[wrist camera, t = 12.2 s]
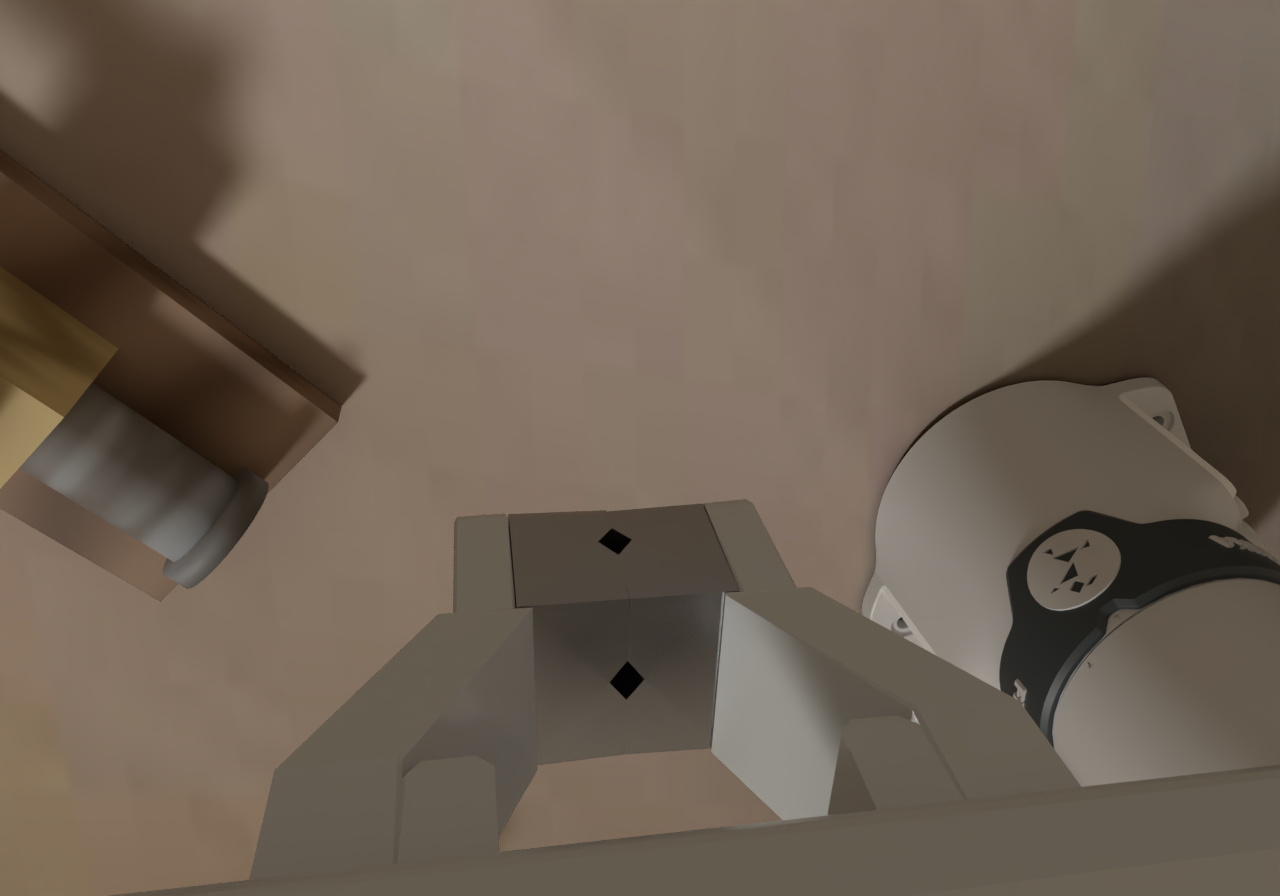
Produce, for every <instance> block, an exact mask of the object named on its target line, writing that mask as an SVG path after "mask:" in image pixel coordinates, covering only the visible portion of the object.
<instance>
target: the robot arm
mask: <svg viewBox="0 0 1280 896" xmlns="http://www.w3.org/2000/svg"><path fill="white" fill-rule="evenodd" d="M1153 417H1154V419H1153ZM1236 492H1237V491H1236V488H1235V487H1234V486H1233V485H1232V483H1231V482H1230V481H1229V480H1228V479H1227V478H1226V477H1225V476H1223V475H1222V474H1221V473H1220V472H1218V471H1217V470H1216V469H1215V468H1214V467H1212V466H1211V465H1210V464H1209V463H1207V462H1206V461H1205V460H1204V459H1202V458H1201V457H1200V456H1199V455H1197V454H1196V453H1195V452H1194V451H1192V450H1191V447H1190V444H1189V441H1188V438H1187V435H1186V432H1185V430H1184V427H1183V424H1182V421H1181V418H1180V415H1179V412H1178V409H1177V406H1176V403H1175V401H1174V398H1173V395H1172V394H1171V392H1170V391H1169V390H1168V389H1167V388H1166V387H1165V386H1164V385H1163V384H1162V383H1160V382H1159V381H1158V380H1156V379H1154V378H1148V377H1144V378H1136V379H1130V380H1125V381H1121V382H1117V383H1113V384H1109V385H1105V386H1089V385H1082V384H1076V383H1071V382H1065V381H1050V380H1045V381H1031V382H1023V383H1019V384H1014V385H1010V386H1006V387H1002V388H999V389H996V390H994V391H991V392H988V393H986V394H983V395H981V396H979V397H977V398H975V399H973V400H971V401H969V402H967V403H965V404H964V405H962V406H960V407H959V408H957V409H955V410H954V411H952V412H951V413H949V414H948V415H947V416H945V417H944V418H943V419H941V420H940V421H939V422H937V423H936V424H935V425H934V426H933V427H932V428H930V429H929V430H928V431H927V432H926V433H925V434H924V435H923V436H922V437H921V438H920V439H919V440H918V441H917V442H916V443H915V444H914V446H913V447H912V448H911V449H910V450H909V452H908V453H907V454H906V455H905V457H904V458H903V459H902V461H901V462H900V464H899V465H898V467H897V469H896V470H895V472H894V473H893V475H892V477H891V479H890V481H889V483H888V485H887V487H886V490H885V492H884V495H883V497H882V500H881V503H880V507H879V511H878V516H877V521H876V532H875V540H876V568H875V572H874V575H873V577H872V579H871V581H870V584H869V586H868V589H867V591H866V594H865V597H864V600H863V604H862V614H863V615H861V614H859V613H857V612H856V611H854V610H852V609H850V608H848V607H846V606H845V605H843V604H841V603H839V602H837V601H835V600H834V599H832V598H830V597H828V596H826V595H824V594H823V593H821V592H819V591H817V590H815V589H813V588H812V587H803V588H797V587H796V585H795V583H794V581H793V580H792V578H791V576H790V574H789V572H788V570H787V568H786V566H785V564H784V562H783V560H782V558H781V557H780V555H779V553H778V551H777V549H776V547H775V545H774V543H773V541H772V539H771V537H770V536H769V534H768V532H767V530H766V528H765V526H764V524H763V522H762V520H761V518H760V516H759V514H758V513H757V511H756V509H755V507H754V505H753V503H752V502H750V501H748V500H746V499H743V500H733V501H723V502H713V503H703V504H691V505H679V506H667V507H655V508H643V509H631V510H619V511H606V510H601V511H576V512H550V513H524V514H508V517H507V516H506V515H505V514H492V515H479V516H465V517H457V518H456V520H455V523H454V581H453V613H447V614H439V615H437V616H436V617H435V618H434V619H433V620H432V621H431V622H430V623H429V624H428V625H426V626H425V627H424V628H423V629H422V630H421V631H420V632H419V633H418V634H417V635H416V636H415V637H414V638H413V639H412V640H411V641H410V642H409V643H408V644H407V645H406V646H404V647H403V648H402V649H401V650H400V651H399V652H398V653H397V654H396V655H395V656H394V657H393V658H392V659H391V660H390V661H389V662H388V663H387V664H386V665H385V666H383V667H382V668H381V669H380V670H379V671H378V672H377V673H376V674H375V675H374V676H373V677H372V678H371V679H370V680H369V681H368V682H367V683H366V684H365V685H364V686H363V687H361V688H360V689H359V690H358V691H357V692H356V693H355V694H354V695H353V696H352V697H351V698H350V699H349V700H348V701H347V702H346V703H345V704H344V705H343V706H342V707H340V708H339V709H338V710H337V711H336V712H335V713H334V714H333V715H332V716H331V717H330V718H329V719H328V720H327V721H326V722H325V723H324V724H323V725H322V726H321V727H320V728H318V729H317V730H316V731H315V732H314V733H313V734H312V735H311V736H310V737H309V738H308V739H307V740H306V741H305V742H304V743H303V744H302V745H301V746H300V747H299V748H297V749H296V750H295V751H294V752H293V753H292V754H291V755H290V756H289V757H288V758H287V759H286V760H285V761H284V762H283V763H282V764H281V765H280V766H279V767H278V768H276V769H275V771H274V775H273V779H272V784H271V788H270V792H269V797H268V801H267V805H266V810H265V814H264V818H263V823H262V827H261V831H260V836H259V840H258V844H257V849H256V853H255V857H254V862H253V866H252V870H251V875H250V879H249V880H244V881H235V882H226V883H217V884H208V885H199V886H190V887H181V888H172V889H163V890H154V891H146V892H137V893H128V894H119V895H110V896H1280V562H1279V561H1278V560H1277V559H1276V558H1275V557H1273V556H1272V555H1271V554H1269V553H1268V552H1267V551H1266V547H1265V545H1264V543H1263V542H1262V540H1261V539H1260V537H1259V536H1258V534H1257V533H1256V532H1255V531H1254V530H1253V529H1252V528H1251V527H1250V526H1249V525H1248V524H1247V523H1246V522H1245V521H1243V519H1244V518H1246V517H1247V516H1248V515H1249V512H1248V510H1247V508H1246V506H1245V505H1244V503H1243V502H1242V501H1241V500H1240V499H1239V498H1238V497H1237V496H1236ZM901 617H902V618H903V619H901V620H899V619H900V618H901ZM707 748H712V751H711V752H712V753H713V754H714V755H715V756H716V757H717V758H718V759H719V760H720V761H721V762H722V763H723V764H724V765H725V766H727V767H728V768H729V769H730V770H731V771H732V772H733V773H734V774H735V775H736V776H737V777H738V778H739V779H740V780H741V781H742V782H743V783H744V784H745V785H746V786H748V787H749V788H750V789H751V790H752V791H753V792H754V793H755V794H756V795H757V796H758V797H759V798H760V799H761V800H762V801H763V802H764V803H765V804H766V805H767V806H768V807H770V808H771V809H772V810H773V811H774V812H775V813H776V814H777V815H778V816H779V817H780V818H781V819H782V820H781V821H773V822H764V823H755V824H746V825H737V826H728V827H719V828H710V829H701V830H692V831H683V832H674V833H665V834H656V835H647V836H638V837H629V838H621V839H612V840H603V841H594V842H585V843H576V844H567V845H558V846H549V847H540V848H531V849H522V850H513V851H504V852H499V838H498V836H499V835H500V833H501V831H502V830H503V828H504V826H505V824H506V823H507V821H508V819H509V818H510V816H511V814H512V813H513V811H514V809H515V807H516V806H517V804H518V802H519V801H520V799H521V797H522V795H523V794H524V792H525V790H526V789H527V787H528V785H529V783H530V782H531V780H532V778H533V777H534V775H535V773H536V771H537V765H544V764H552V763H560V762H568V761H576V760H583V759H591V758H599V757H607V756H615V755H623V754H624V753H625V754H637V753H651V752H665V751H679V750H693V749H707Z"/></svg>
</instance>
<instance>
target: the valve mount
mask: <svg viewBox="0 0 1280 896" xmlns="http://www.w3.org/2000/svg"><path fill="white" fill-rule="evenodd" d="M340 411H341V406H340V405H339V404H337V403H336V402H335V401H333V400H332V399H331V398H329V397H328V396H327V395H325V394H324V393H323V392H321V391H320V390H319V389H317V388H316V387H315V386H313V385H312V384H311V383H309V382H308V381H307V380H305V379H304V378H303V377H301V376H300V375H299V374H297V373H296V372H295V371H293V370H292V369H291V368H289V367H288V366H287V365H285V364H284V363H283V362H282V361H280V360H279V359H278V358H276V357H275V356H274V355H272V354H271V353H270V352H268V351H267V350H266V349H264V348H263V347H262V346H260V345H259V344H258V343H256V342H255V341H254V340H252V339H251V338H250V337H248V336H247V335H246V334H244V333H243V332H242V331H240V330H239V329H238V328H236V327H235V326H234V325H232V324H231V323H230V322H228V321H227V320H226V319H224V318H223V317H222V316H220V315H219V314H218V313H216V312H215V311H214V310H213V309H211V308H210V307H209V306H207V305H206V304H205V303H203V302H202V301H201V300H199V299H198V298H197V297H195V296H194V295H193V294H191V293H190V292H189V291H187V290H186V289H185V288H183V287H182V286H181V285H179V284H178V283H177V282H175V281H174V280H173V279H171V278H170V277H169V276H167V275H166V274H165V273H163V272H162V271H161V270H159V269H158V268H157V267H155V266H154V265H153V264H151V263H150V262H149V261H147V260H146V259H145V258H143V257H142V256H141V255H140V254H138V253H137V252H136V251H134V250H133V249H132V248H130V247H129V246H128V245H126V244H125V243H124V242H122V241H121V240H120V239H118V238H117V237H116V236H114V235H113V234H112V233H110V232H109V231H108V230H106V229H105V228H104V227H102V226H101V225H100V224H98V223H97V222H96V221H94V220H93V219H92V218H90V217H89V216H88V215H86V214H85V213H84V212H82V211H81V210H80V209H78V208H77V207H76V206H74V205H73V204H72V203H71V202H69V201H68V200H67V199H65V198H64V197H63V196H61V195H60V194H59V193H57V192H56V191H55V190H53V189H52V188H51V187H49V186H48V185H47V184H45V183H44V182H43V181H41V180H40V179H39V178H37V177H36V176H35V175H33V174H32V173H31V172H29V171H28V170H27V169H25V168H24V167H23V166H21V165H20V164H19V163H17V162H16V161H15V160H13V159H12V158H11V157H9V156H8V155H7V154H5V153H4V152H3V151H1V150H0V509H2V510H4V511H5V512H7V513H9V514H11V515H12V516H14V517H16V518H17V519H19V520H21V521H23V522H24V523H26V524H28V525H29V526H31V527H33V528H35V529H36V530H38V531H40V532H42V533H43V534H45V535H47V536H48V537H50V538H52V539H54V540H55V541H57V542H59V543H60V544H62V545H64V546H66V547H67V548H69V549H71V550H72V551H74V552H76V553H78V554H79V555H81V556H83V557H84V558H86V559H88V560H90V561H91V562H93V563H95V564H97V565H98V566H100V567H102V568H103V569H105V570H107V571H109V572H110V573H112V574H114V575H115V576H117V577H119V578H121V579H122V580H124V581H126V582H127V583H129V584H131V585H133V586H134V587H136V588H138V589H139V590H141V591H143V592H145V593H146V594H148V595H150V596H151V597H153V598H155V599H157V600H158V601H160V602H161V601H162V600H163V599H164V598H165V597H166V596H167V595H168V594H169V593H170V592H171V591H172V590H173V589H174V588H175V586H176V585H177V584H180V585H182V586H183V587H185V588H192V587H194V586H195V585H197V584H198V583H200V582H201V581H202V580H203V579H204V578H206V577H207V576H208V575H209V574H210V573H211V572H212V571H213V570H214V569H215V568H216V567H217V566H218V565H219V564H220V563H221V561H222V560H223V559H224V558H225V557H226V556H227V555H228V553H229V552H230V551H231V550H232V549H233V547H234V546H235V545H236V544H237V542H238V541H239V540H240V538H241V537H242V536H243V534H244V533H245V531H246V530H247V529H248V527H249V526H250V524H251V523H252V521H253V519H254V518H255V516H256V515H257V513H258V511H259V509H260V508H261V506H262V504H263V502H264V500H265V498H266V495H267V493H268V492H269V491H270V490H271V489H272V488H273V487H274V486H275V485H276V484H277V483H278V482H279V481H280V480H281V479H282V478H283V477H284V476H285V475H286V474H287V473H288V472H289V471H290V470H291V469H292V468H293V467H294V466H295V465H296V464H297V463H298V462H299V461H300V460H301V459H302V458H303V457H304V456H305V455H306V454H307V453H308V452H309V451H310V450H311V449H312V448H313V447H314V446H315V445H316V444H317V443H318V442H319V441H320V440H321V439H322V438H323V437H324V436H325V435H326V434H327V433H328V432H329V431H330V430H331V429H332V428H333V427H334V426H335V425H336V424H337V423H338V419H339V415H340Z"/></svg>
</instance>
